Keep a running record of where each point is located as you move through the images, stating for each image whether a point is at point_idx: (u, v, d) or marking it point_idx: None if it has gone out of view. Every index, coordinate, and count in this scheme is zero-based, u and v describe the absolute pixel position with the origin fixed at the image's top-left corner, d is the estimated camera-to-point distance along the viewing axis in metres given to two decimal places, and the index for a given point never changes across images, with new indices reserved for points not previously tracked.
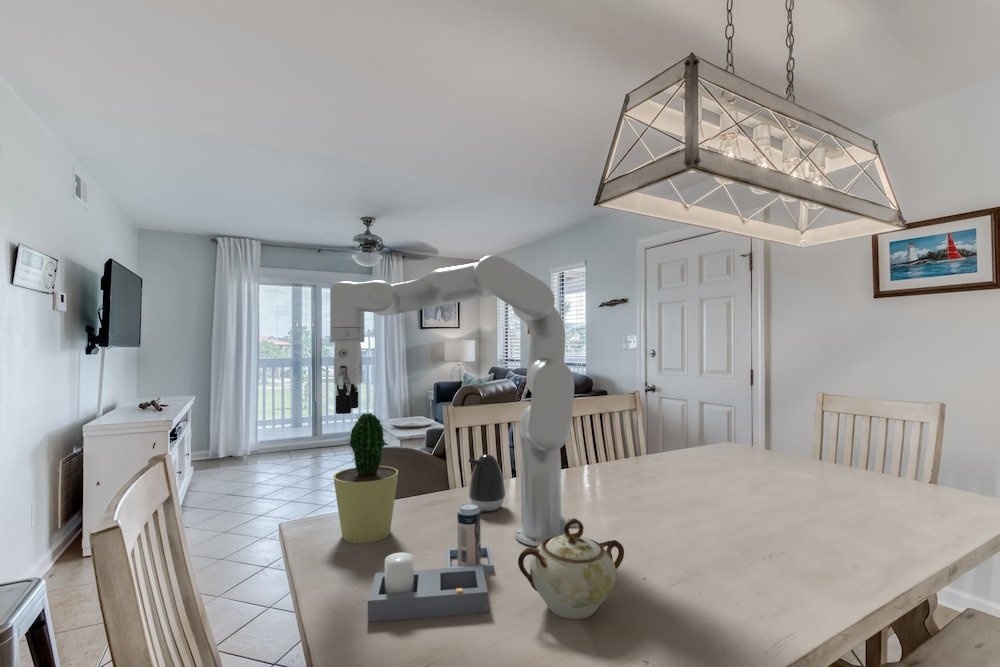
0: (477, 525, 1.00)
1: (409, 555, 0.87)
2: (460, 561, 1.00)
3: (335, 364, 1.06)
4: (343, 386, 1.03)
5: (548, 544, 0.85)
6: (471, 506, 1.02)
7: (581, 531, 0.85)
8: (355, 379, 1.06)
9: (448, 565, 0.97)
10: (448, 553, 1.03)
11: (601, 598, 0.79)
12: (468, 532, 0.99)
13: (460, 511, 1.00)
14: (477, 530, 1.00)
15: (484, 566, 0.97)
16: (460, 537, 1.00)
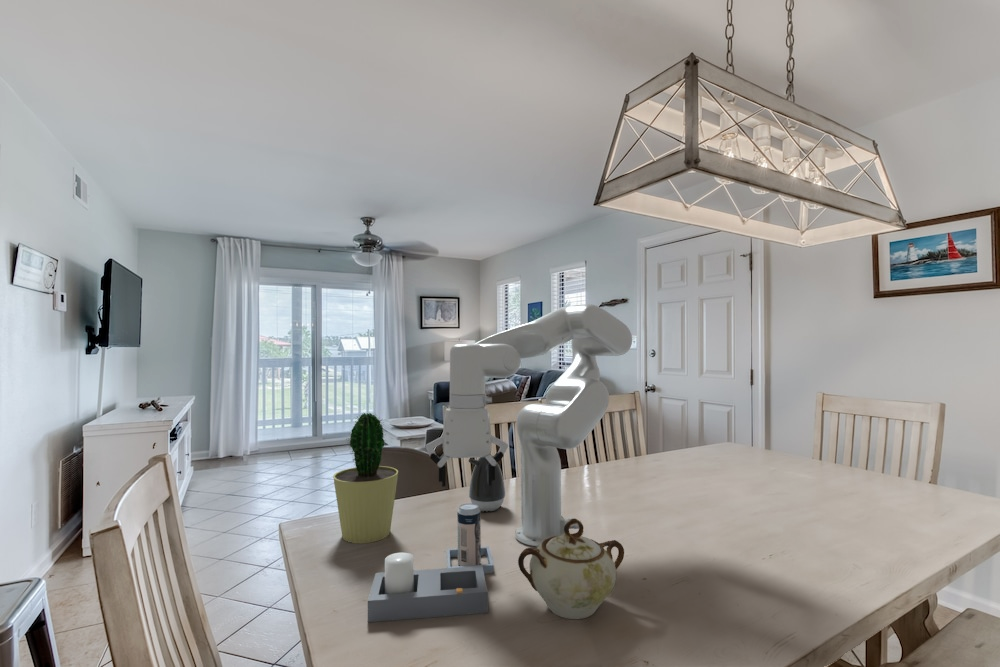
0: (477, 525, 1.00)
1: (409, 555, 0.87)
2: (460, 561, 1.00)
3: (490, 433, 1.01)
4: None
5: (548, 544, 0.85)
6: (471, 506, 1.02)
7: (581, 531, 0.85)
8: None
9: (448, 565, 0.97)
10: (448, 553, 1.03)
11: (601, 598, 0.79)
12: (468, 532, 0.99)
13: (460, 511, 1.00)
14: (477, 530, 1.00)
15: (484, 566, 0.97)
16: (460, 537, 1.00)
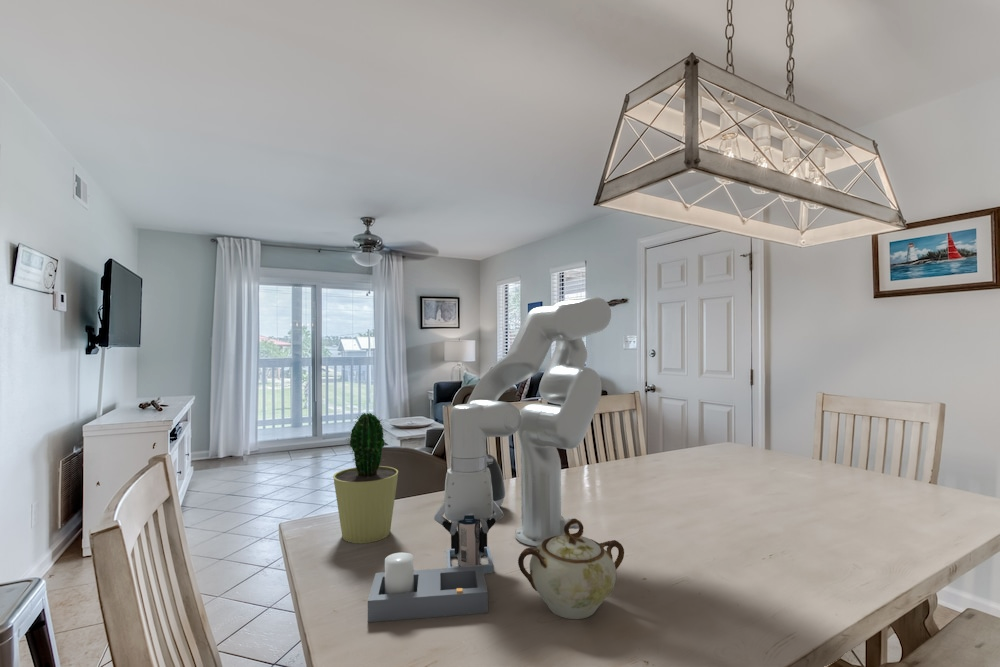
0: (477, 525, 1.00)
1: (409, 555, 0.87)
2: (460, 561, 1.00)
3: (492, 495, 1.00)
4: None
5: (548, 544, 0.85)
6: None
7: (581, 531, 0.85)
8: None
9: (448, 565, 0.97)
10: (448, 553, 1.03)
11: (601, 598, 0.79)
12: (468, 532, 0.99)
13: None
14: (477, 530, 1.00)
15: (484, 566, 0.97)
16: (460, 537, 1.00)
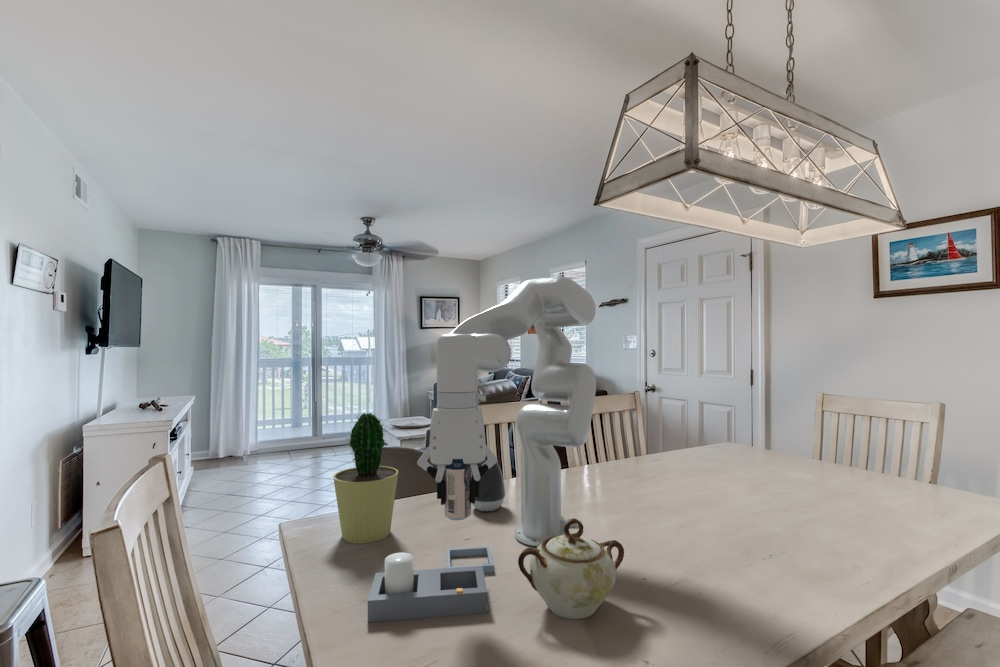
0: (467, 471, 0.87)
1: (409, 555, 0.87)
2: (447, 512, 0.86)
3: (484, 437, 0.87)
4: None
5: (548, 544, 0.85)
6: None
7: (581, 531, 0.85)
8: None
9: (448, 565, 0.97)
10: (448, 553, 1.03)
11: (601, 598, 0.79)
12: (457, 479, 0.86)
13: None
14: (467, 477, 0.86)
15: (484, 566, 0.97)
16: (447, 485, 0.86)
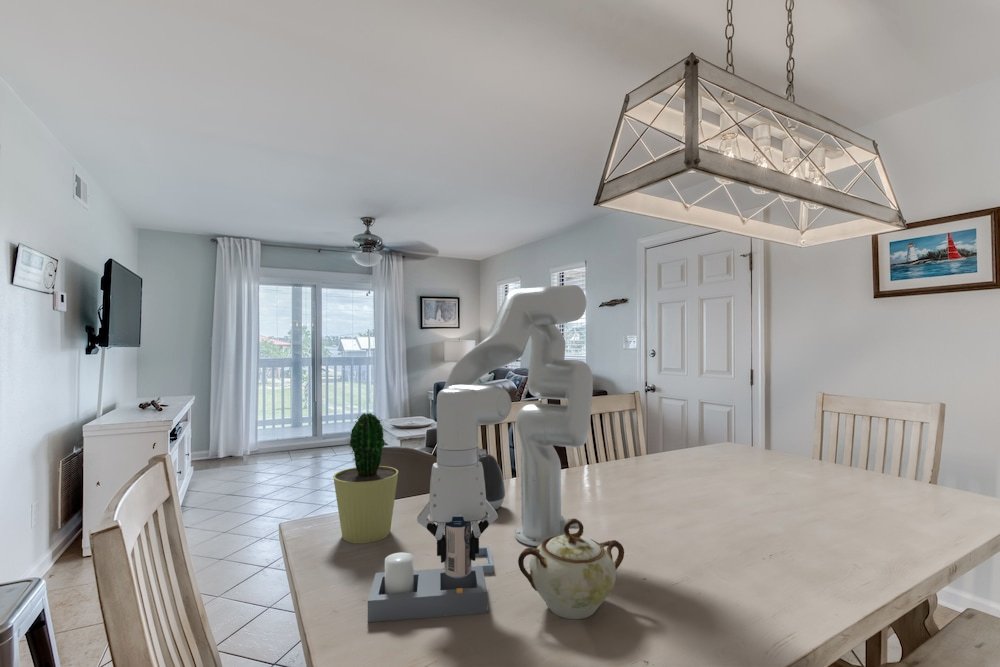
0: (467, 528, 0.86)
1: (409, 555, 0.87)
2: (447, 570, 0.85)
3: (484, 493, 0.86)
4: None
5: (548, 544, 0.85)
6: None
7: (581, 531, 0.85)
8: None
9: None
10: None
11: (601, 598, 0.79)
12: (457, 536, 0.85)
13: None
14: (467, 534, 0.86)
15: (484, 566, 0.97)
16: (447, 542, 0.85)
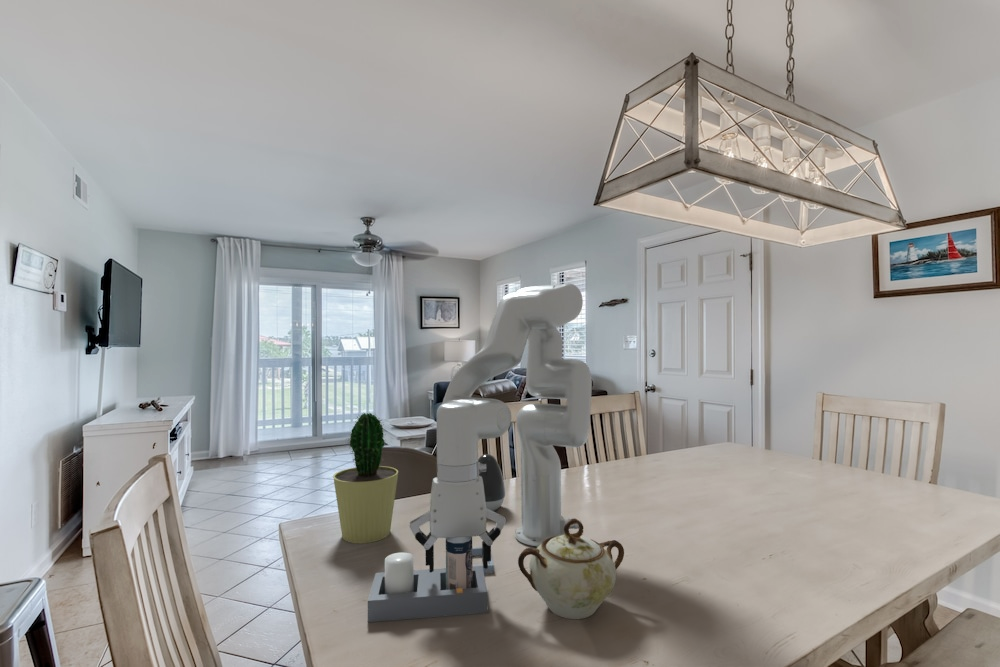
0: (468, 554, 0.86)
1: (409, 555, 0.87)
2: None
3: (485, 508, 0.86)
4: None
5: (548, 544, 0.85)
6: None
7: (581, 531, 0.85)
8: None
9: None
10: None
11: (601, 598, 0.79)
12: (458, 563, 0.85)
13: (449, 538, 0.86)
14: (468, 561, 0.86)
15: None
16: (449, 568, 0.86)
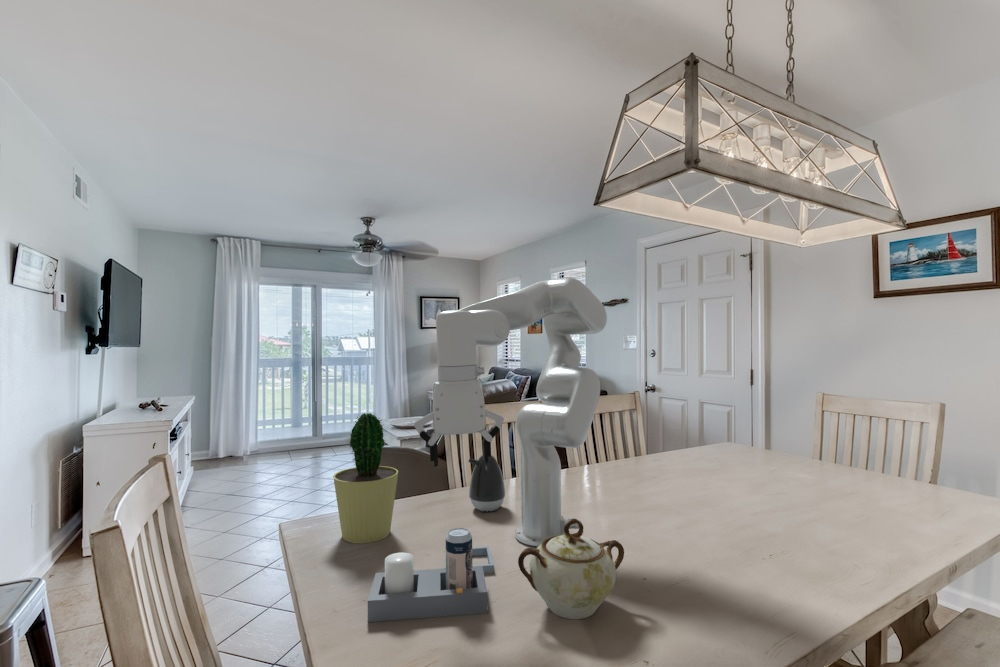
0: (468, 554, 0.86)
1: (409, 555, 0.87)
2: None
3: (484, 407, 0.93)
4: None
5: (548, 544, 0.85)
6: (461, 532, 0.88)
7: (581, 531, 0.85)
8: None
9: None
10: None
11: (601, 598, 0.79)
12: (458, 563, 0.85)
13: (448, 538, 0.86)
14: (468, 561, 0.86)
15: (484, 566, 0.97)
16: (449, 568, 0.86)
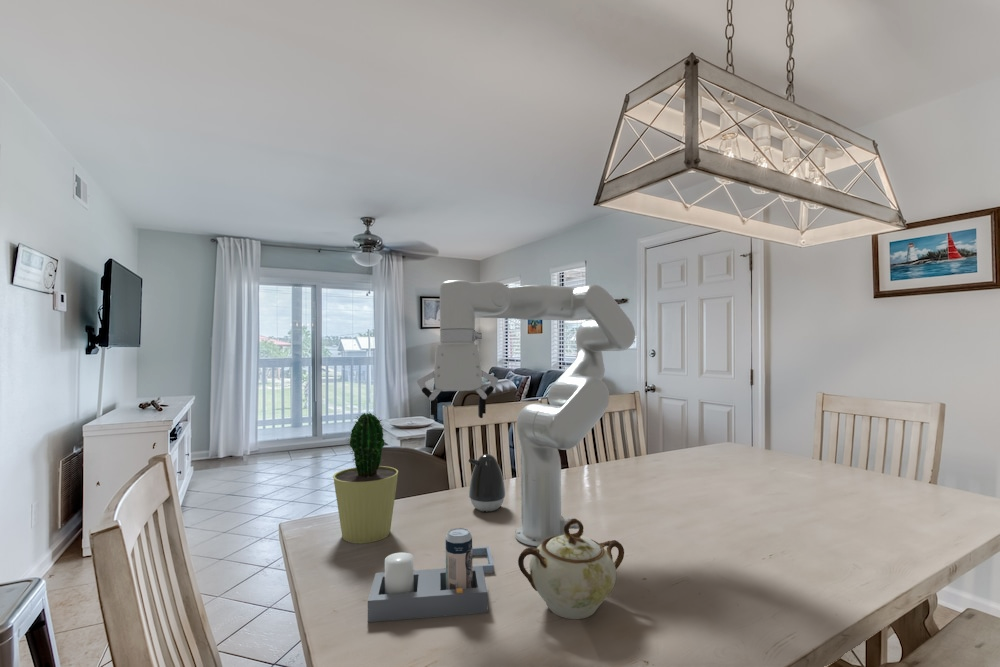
0: (468, 554, 0.86)
1: (409, 555, 0.87)
2: None
3: (480, 367, 1.03)
4: None
5: (548, 544, 0.85)
6: (461, 532, 0.88)
7: (581, 531, 0.85)
8: None
9: None
10: None
11: (601, 598, 0.79)
12: (458, 563, 0.85)
13: (448, 538, 0.86)
14: (468, 561, 0.86)
15: (484, 566, 0.97)
16: (449, 568, 0.86)
